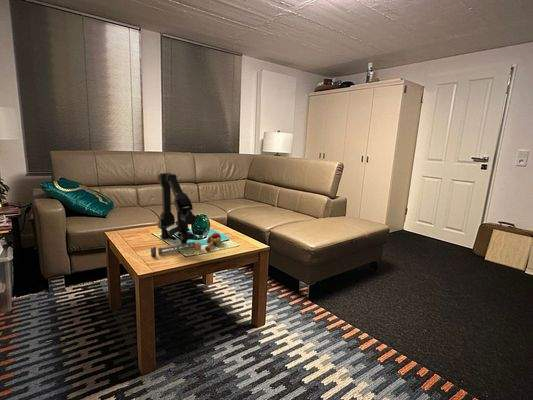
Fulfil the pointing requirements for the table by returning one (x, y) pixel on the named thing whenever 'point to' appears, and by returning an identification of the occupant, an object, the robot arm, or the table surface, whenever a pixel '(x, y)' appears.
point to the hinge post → (153, 251)
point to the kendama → (213, 241)
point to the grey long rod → (175, 247)
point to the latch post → (197, 246)
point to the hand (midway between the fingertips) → (183, 246)
